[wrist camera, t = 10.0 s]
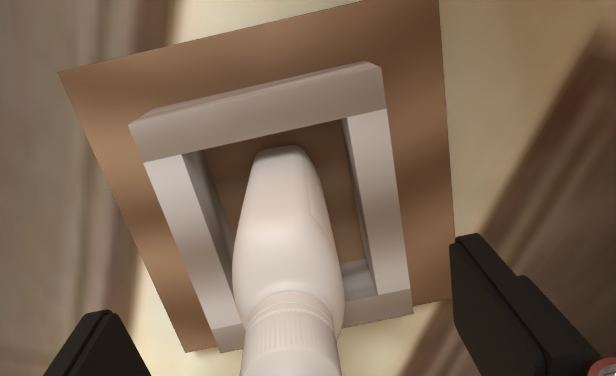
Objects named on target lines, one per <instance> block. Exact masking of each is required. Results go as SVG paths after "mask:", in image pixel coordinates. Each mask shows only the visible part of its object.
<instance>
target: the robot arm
mask: <svg viewBox="0 0 616 376" xmlns="http://www.w3.org/2000/svg"><path fill="white" fill-rule="evenodd" d="M449 257H450V271H451V285H452V300H453V314H454V322H455V326H456V328H457V331H458V333H459V335H460V337H461V339H462V340H463V342H464V344H465V346H466V348H467V350H468V351H469V353H470V355H471V357H472V359H473V361H474V363H475V364H476V366H477V368H478V370H479V372H480V374H481V375H482V376H616V357H608V358H605V359H603V358H602V357H601V355H600V354H599V353H598V352H597V351H596V350H595V349H594V348H593V347H592V346H591V345H590V344H589V342H588V341H587V340H586V339H585V338H584V337H583V336H582V335H581V334H580V333H579V332H578V331H577V330H576V328H575V327H574V326H573V325H572V324H571V323H570V322H569V321H568V320H567V319H566V318H565V317H564V315H563V314H562V313H561V312H560V311H559V310H558V309H557V308H556V307H555V306H554V305H553V304H552V302H551V301H550V300H549V299H548V298H547V297H546V296H545V295H544V294H543V293H542V292H541V291H540V289H539V288H538V287H537V286H536V285H535V284H534V283H533V282H532V281H531V280H530V279H529V278H528V277H526V276H523V275H521V276H516V275H515V274H514V273H513V272H512V270H511V269H510V268H509V267H508V266H507V265H506V264H505V263H504V261H503V260H502V259H501V258H500V257H499V256H498V255H497V254H496V252H495V251H494V250H493V249H492V248H491V247H490V246H489V244H488V243H487V242H486V241H485V240H484V239H483V238H482V237H481V235H479V234H478V233H474V234H469V235H464V236H459V237H456V238H455V243H452V244H450V245H449ZM43 376H151V374H150V372H149V370H148V369H147V367H146V365H145V363H144V361H143V359H142V358H141V356H140V354H139V352H138V350H137V348H136V347H135V345H134V343H133V341H132V339H131V337H130V335H129V334H128V332H127V330H126V328H125V326H124V324H123V323H122V321H121V319H120V317H119V316H118V315H117V314H116V313H112V311H110V310H101V311H97V312H92V313H87V314H85V315H84V316H83V317H82V319H81V320H80V322H79V323H78V325H77V326H76V328H75V329H74V331H73V332H72V333H71V335H70V336H69V338H68V339H67V341H66V342H65V344H64V345H63V347H62V348H61V350H60V351H59V353H58V354H57V356H56V357H55V359H54V360H53V362H52V363H51V365H50V366H49V367H48V369H47V370H46V372H45V373H44V375H43Z"/></svg>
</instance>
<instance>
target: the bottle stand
mask: <svg viewBox="0 0 616 376" xmlns="http://www.w3.org/2000/svg"><path fill="white" fill-rule="evenodd" d="M57 73H58V75H59V77H60V79H61V82H62V84H63V86H64V88H65V90H66V93H67V95H68V97H69V99H70V101H71V104H72V106H73V108H74V110H75V112H76V115H77V117H78V119H79V121H80V123H81V125H82V128H83V130H84V132H85V134H86V136H87V139H88V141H89V143H90V145H91V147H92V150H93V152H94V154H95V156H96V158H97V161H98V163H99V165H100V167H101V169H102V172H103V174H104V176H105V178H106V180H107V182H108V185H109V187H110V189H111V191H112V193H113V196H114V198H115V200H116V202H117V204H118V207H119V209H120V211H121V213H122V215H123V218H124V220H125V222H126V224H127V226H128V229H129V231H130V233H131V235H132V237H133V239H134V242H135V244H136V246H137V248H138V250H139V253H140V255H141V257H142V259H143V261H144V264H145V266H146V268H147V270H148V272H149V275H150V277H151V279H152V281H153V283H154V285H155V288H156V290H157V292H158V294H159V296H160V299H161V301H162V303H163V305H164V307H165V310H166V312H167V314H168V316H169V318H170V321H171V323H172V325H173V327H174V329H175V332H176V334H177V336H178V338H179V340H180V342H181V345H182V347H183V349H184V351H185V353H187V352H192V351H197V350H202V349H207V348H212V347H217V346H218V348H219V350H220V353H224V352H229V351H234V350H239V349H243V348H244V341H245V333H246V330H245V328H244V327H243V324H242V322H241V320H240V317H239V314H238V311H237V308H236V304H235V299H234V293H233V284H232V262H233V252H234V244H235V239H236V234H237V229H238V224H239V219H240V215H241V210H242V206H243V202H244V197H245V193H246V189H247V185H248V181H249V177H250V172H251V168H252V164H253V161H254V158H255V156H256V155H257V153H258V152H260V151H262V150H265V149H270V148H276V147H282V146H288V145H296V146H299V147H301V148H302V149H303V150H304V151H305V152H306V154H307V155H308V157H309V158H310V160H311V161H312V163H313V165H314V167H315V169H316V171H317V174H318V176H319V179H320V182H321V185H322V189H323V193H324V197H325V202H326V206H327V211H328V215H329V220H330V224H331V229H332V233H333V238H334V242H335V247H336V251H337V256H338V260H339V265H340V269H341V275H342V280H343V286H344V299H345V307H344V318H343V324H342V328H346V327H351V326H356V325H361V324H366V323H371V322H376V321H381V320H386V319H391V318H395V317H400V316H405V315H410V314H414V312H413V306H417V305H421V304H426V303H431V302H436V301H441V300H446V299H451V298H452V285H451V271H450V257H449V245H450V244H452V243H455V229H454V215H453V200H452V186H451V172H450V158H449V144H448V129H447V115H446V101H445V87H444V73H443V58H442V44H441V30H440V16H439V2H438V0H364V1H360V2H355V3H351V4H347V5H342V6H338V7H334V8H330V9H325V10H321V11H317V12H312V13H308V14H304V15H300V16H295V17H291V18H287V19H282V20H278V21H274V22H270V23H265V24H261V25H257V26H252V27H248V28H244V29H240V30H235V31H231V32H227V33H222V34H218V35H214V36H210V37H205V38H201V39H197V40H192V41H188V42H184V43H180V44H175V45H171V46H167V47H162V48H158V49H154V50H150V51H145V52H141V53H137V54H132V55H128V56H124V57H120V58H115V59H111V60H107V61H102V62H98V63H94V64H90V65H85V66H81V67H77V68H72V69H68V70H64V71H60V72H57ZM342 328H341V329H342Z"/></svg>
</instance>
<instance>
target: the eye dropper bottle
mask: <svg viewBox="0 0 616 376" xmlns="http://www.w3.org/2000/svg"><path fill="white" fill-rule="evenodd" d="M232 284H233V293H234V299H235V304H236V308H237V311H238V314H239V317H240V320H241V322H242V324H243V327H244V328H245V330H246V333H245V341H244V348H243V356H242V364H241V371H240V376H342V374H341V367H340V361H339V355H338V349H337V340H338V337H339V335H340V332H341V328H342V324H343V318H344V307H345V299H344V286H343V280H342V275H341V269H340V265H339V260H338V256H337V251H336V247H335V242H334V238H333V233H332V229H331V224H330V220H329V215H328V211H327V206H326V202H325V197H324V193H323V189H322V185H321V182H320V179H319V176H318V174H317V171H316V169H315V167H314V165H313V163H312V161H311V160H310V158H309V157H308V155H307V154H306V152H305V151H304V150H303V149H302V148H301V147H299V146H296V145H288V146H282V147H276V148H270V149H265V150H262V151H260V152H258V153H257V155H256V156H255V158H254V161H253V164H252V168H251V172H250V177H249V181H248V185H247V189H246V193H245V197H244V202H243V206H242V210H241V215H240V219H239V224H238V229H237V234H236V239H235V244H234V252H233V262H232Z"/></svg>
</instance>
